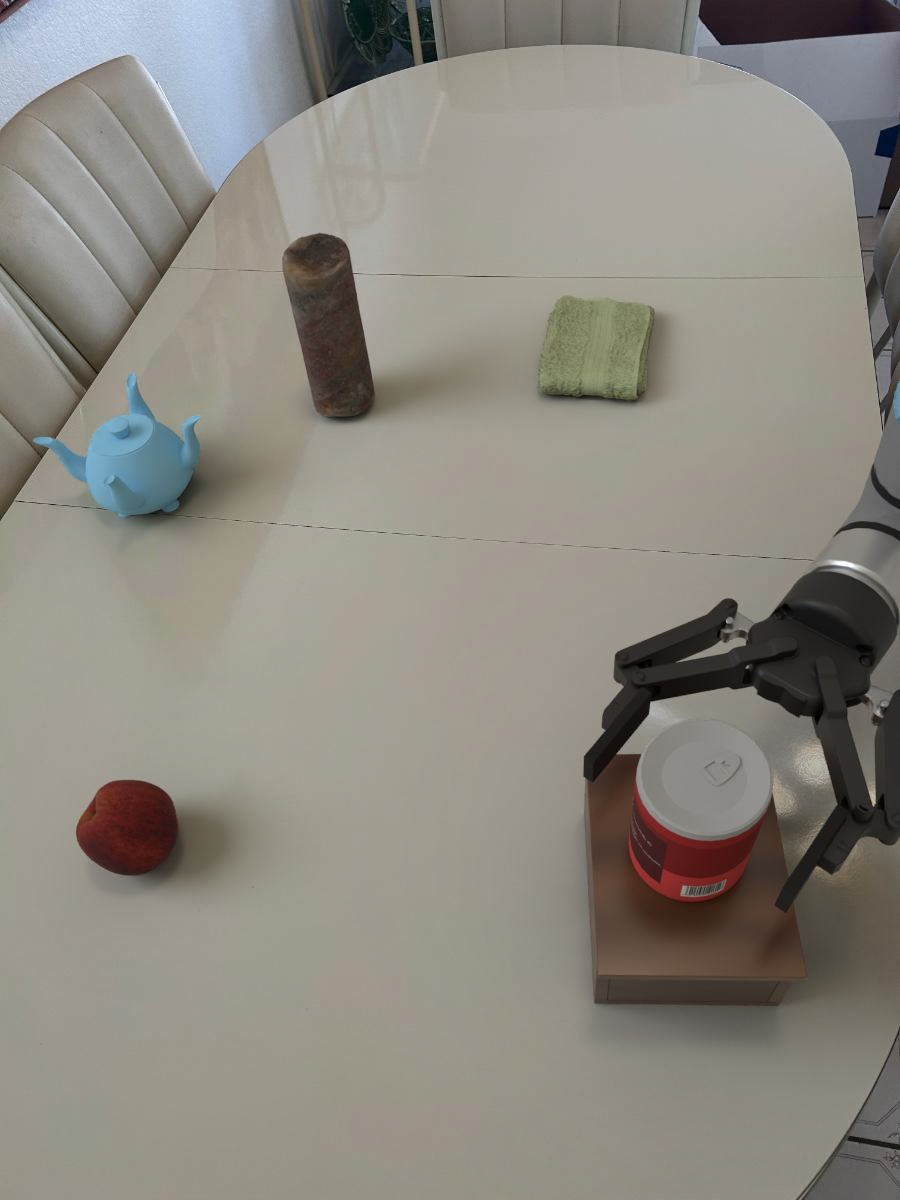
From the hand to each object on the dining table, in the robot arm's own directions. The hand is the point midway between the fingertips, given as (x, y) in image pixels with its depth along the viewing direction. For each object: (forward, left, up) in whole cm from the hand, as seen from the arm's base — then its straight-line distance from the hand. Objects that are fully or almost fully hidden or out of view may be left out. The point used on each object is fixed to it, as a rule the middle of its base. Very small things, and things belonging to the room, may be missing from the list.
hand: (680, 832), depth 56 cm
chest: (0, -2, -17) cm, 17 cm away
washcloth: (+39, -56, -17) cm, 71 cm away
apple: (+38, +18, -17) cm, 45 cm away
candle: (+60, -34, -17) cm, 71 cm away
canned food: (0, -2, -8) cm, 8 cm away
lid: (0, -2, -8) cm, 8 cm away
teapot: (+70, -11, -17) cm, 73 cm away
